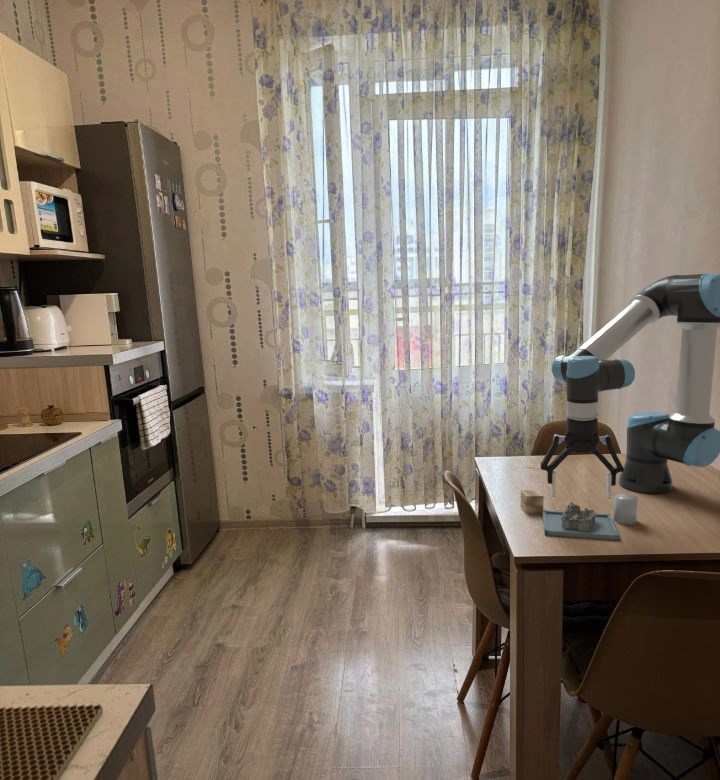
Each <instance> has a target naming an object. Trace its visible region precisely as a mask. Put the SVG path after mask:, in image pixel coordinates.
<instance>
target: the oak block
mask: <svg viewBox="0 0 720 780" xmlns="http://www.w3.org/2000/svg"><path fill="white" fill-rule="evenodd" d="M544 497H545V495H543V493H542V492H541V491H540V490H539V489H528V490H520V508H521V509H522V510H523V512H524V513H525V514H538V513H539V514H540V513H541V514H542V510H544V499H545V498H544Z"/></svg>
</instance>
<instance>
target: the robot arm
mask: <svg viewBox="0 0 720 780" xmlns="http://www.w3.org/2000/svg"><path fill="white" fill-rule="evenodd" d="M625 307H626V308H624V309H623V310H621V312H619V313H618V314H617V315H616V316H615V317H613V318H612V319H611V320H610V321H609V322H607V324H605V325H604V326H603V327H602V328H600V329H599V330H598V331H597V332H596V333H595V334H594V335H592V336H591V337H590V338H589V339H588V340H587V341H585V342H584V343H583V344H581V345H580V347H578V348H577V349H575V351H574V352H572V353H571V354H569V355H568V354H564V355H559V356H557V357H555V359H554V360H553V361H552V363H551V373H552V376H553V378H554V379H555V380H557V381H558V382H559V381H560V382H561V383H562V382H564V383H566V416H567V417H566V421H565V422H566V427H565V428H566V431H565V435H559V434H557V433H554V434H553V438H552V442H551V444H550V446H549V447H548V450H547V452H546V453H545V456H544V457H543V459H542V461H541V462H540V465H539V467H540V470H542V471H546V472H547V473H546V474H547V478H546V479H547V483H548V484H550V485H551V497H552V498H555V497H556V479H557V477H556V473H557V472H556V468H558V466H559V465H560V464H561V463H562V462H563V461H564V460H566V458H567V457H568V456H569V455H571V454H572V452H573V453H575V454H581V453H583V454H589V453H590V452H592V453H593V454H594V456H596V457H597V459H598V460H599V461H600V462H601V463H602V464H603V466H605V468H606V469H608V471H606V487H605V488H606V491H605V494H606V498H607V500H611V499H612V487H615V486H616V484H617V474H619V477H618V484H619V486H621V487H622V488H624V489H627V490H630V491H634V492H638V493H645V494H661V493H662V494H663V493H664V494H665V493H667V492H670V491H672V490H673V483H674V482H673V478H672V475H671V472H670V468H669V465H668V461H673V462H676V463H680V464H684V465H685V466H690V467H695V468H706V467H707V466H710V465H712V463H713V462H715V460H716V459H717V458H718V457H719V455H720V430H719V429H717V428H715V425H716V424H715V422H716V420H715V419H714V418H713V417H712V416H711V414H710V410H711V398H712V389H713V379H714V378H713V377H714V369H715V358H716V347H717V346H716V345H717V337H718V329H719V328H720V273H699V274H698V273H697V274H696V273H695V274H673V275H669V276H665V277H663V278H660V279H657V280H656V281H655V282H652V283H650V284H649V285H648V286H646V287H644V288H642V289H641V290H640V291H639V292H638V293H636V294H635V295H634V296H633V297H632V298H630V301H629V305H628V306H625ZM667 316H668V317H671V316H675V317H676V323H677V325H679V327H681V329H682V330H681V338H680V339H681V340H680V341H681V342H680V350H679V351H680V352H679V353H680V354H679V362H678V363H679V364H678V365H679V366H678V375H677V389H676V397H675V399H676V400H675V409H674V410H675V411H674V412H672V414H669V413H668V412H656V411H655V412H641V413H639V412H638V413H633V414H631V415H629V417H628V420H627V426H626V451H625V452H626V453H625V454H626V457H625V461H624V464H623V465H622V462H621V461H620V459H619V457H618V455H617V453H616V451H615V449H614V448H613V445H612V438H611V436H610V435H609V434H608V433H607V434H604V435H601V436H599V435H598V430H599V429H598V428H599V427H598V426H599V424H598V423H599V422H598V421H599V419H598V418H597V417H598V415H599V393H600V392H605V391H611V390H620V389H624V388H627V387H629V386H631V385H632V383H633V382H634V381H635V378H636V371H635V367H634V364H632V363H631V362H630V361H629V360H627V359H623V358H622V359H617V358H615V359H609V358H610V357H611V356H613V355H614V354H615V353H616V352H617V351H619V349H621V348H622V347H623V346H624V345H625V344H627V343H628V342H629V341H630V340H631V339H632V338H634V336H636V335H637V334H638V333H639V332H640V331H642V329H644V328H645V327H646V326H648V324H650V325H651V324H654V323H656V322H657V321H658V320H659V319H661V318H663V317H667ZM563 441H564V442H565V443H566V446H565V447H564V449H563V450H562V451H561V452H560V453H559V454H558V455H557V456H556V457H555V458H554V459H553V460H552V461H551V459H552V457H553V456H554V454H555V452H556V450H557V448H558V446H559V445H560V444H562V442H563ZM599 442H601V443H602V444H603V445H604V446H606V448H607V451H608V453H609V454H610V456H611V458H612V460H613V462H614V464H615V466H613V465H612V463H611V462H610V461H609V460H608V459H607V458H606V457H605V456H604V455H603V454H602V452H601V451H600V450H599V449H598V447H596V446H597V445H598V444H599Z"/></svg>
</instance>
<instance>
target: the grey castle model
mask: <svg viewBox="0 0 720 780" xmlns="http://www.w3.org/2000/svg"><path fill="white" fill-rule="evenodd" d="M564 511H565V512H564V513H563V514H562V517H561V519H562V527H564V528H566V529H577V530H579V531H589V527H591V526H592V522H595V514H596V513H597V512H598V509H597V510H596V509H595V510H594V509H592V508H591V509H588V507H585V508H584V509H581V507H580V505H578V504H574V503H573V501H571V502H569V504H567V508H566V509H565V510H564Z"/></svg>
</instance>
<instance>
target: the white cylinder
mask: <svg viewBox="0 0 720 780" xmlns="http://www.w3.org/2000/svg"><path fill="white" fill-rule="evenodd" d="M638 502H639V501H638V497H637V496H636V495H632V494H629V493H628V494H627V493H619V494H618V493H617V494H615V495H614V505H613V522H615V523H618V524H620V525H621V524H622V525H627V526H628V525H629V526H630V525H635V524H637V518H638V516H637V515H638Z"/></svg>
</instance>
